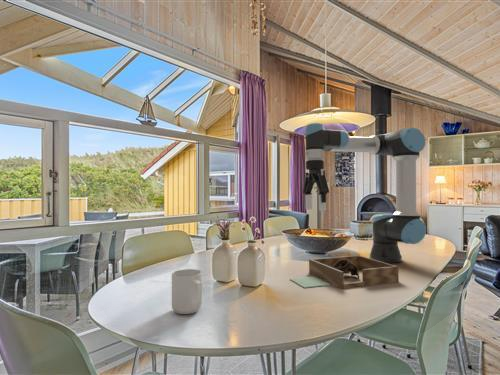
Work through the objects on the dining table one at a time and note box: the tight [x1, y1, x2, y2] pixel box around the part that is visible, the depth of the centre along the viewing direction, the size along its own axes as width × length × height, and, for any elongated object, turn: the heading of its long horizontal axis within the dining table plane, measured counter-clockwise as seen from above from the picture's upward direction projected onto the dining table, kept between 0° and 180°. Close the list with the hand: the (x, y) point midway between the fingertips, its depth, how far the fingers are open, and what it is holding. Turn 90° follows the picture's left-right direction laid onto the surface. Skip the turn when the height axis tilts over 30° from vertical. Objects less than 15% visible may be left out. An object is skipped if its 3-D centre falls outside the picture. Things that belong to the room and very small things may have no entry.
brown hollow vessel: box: [334, 259, 360, 279], centre depth 130 cm, size 12×9×8 cm
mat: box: [289, 275, 331, 289], centre depth 123 cm, size 11×12×1 cm
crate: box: [308, 255, 400, 290], centre depth 130 cm, size 26×24×6 cm
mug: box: [171, 268, 203, 315], centre depth 94 cm, size 12×9×11 cm
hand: (315, 210), depth 133 cm, fingers open, 13 cm apart
